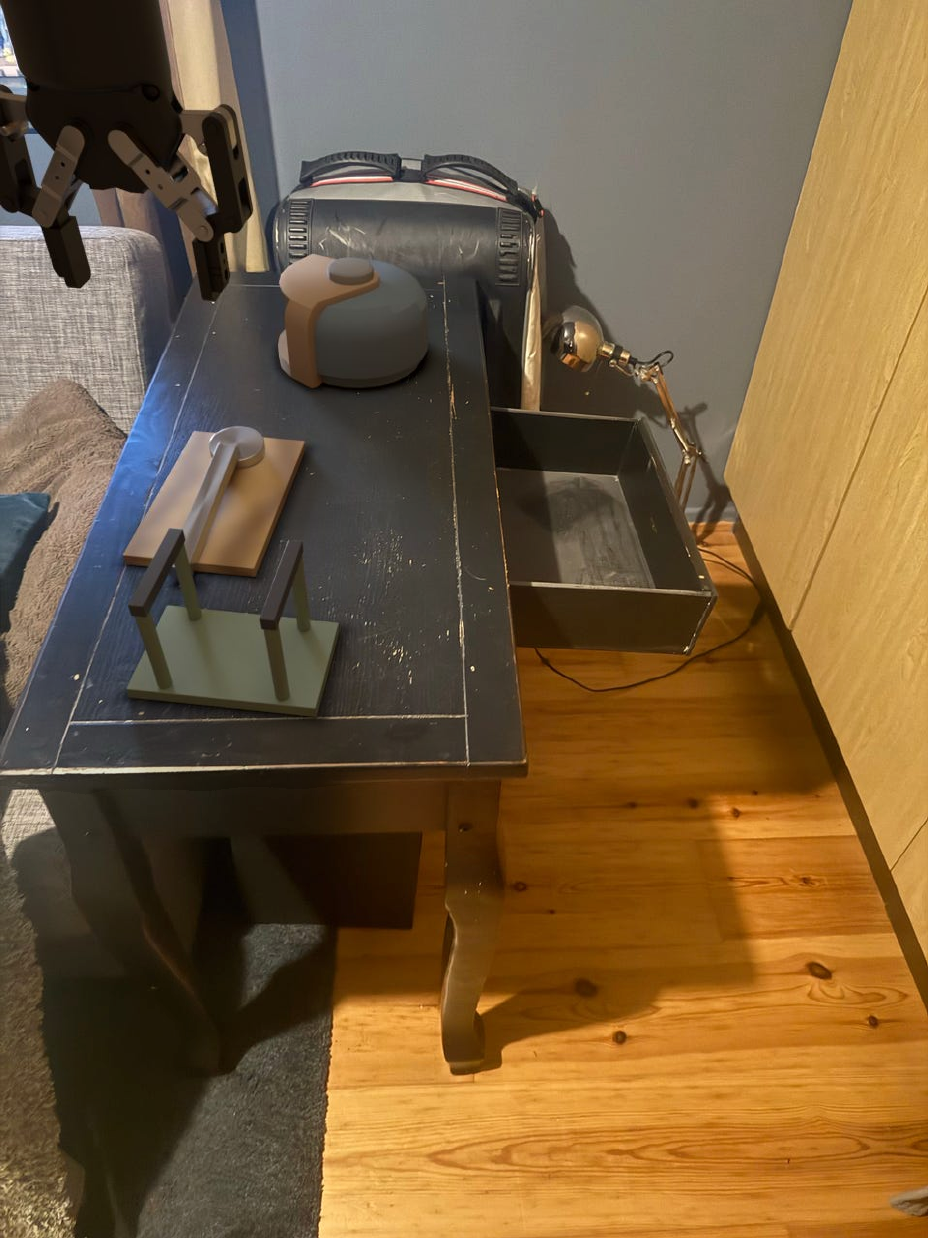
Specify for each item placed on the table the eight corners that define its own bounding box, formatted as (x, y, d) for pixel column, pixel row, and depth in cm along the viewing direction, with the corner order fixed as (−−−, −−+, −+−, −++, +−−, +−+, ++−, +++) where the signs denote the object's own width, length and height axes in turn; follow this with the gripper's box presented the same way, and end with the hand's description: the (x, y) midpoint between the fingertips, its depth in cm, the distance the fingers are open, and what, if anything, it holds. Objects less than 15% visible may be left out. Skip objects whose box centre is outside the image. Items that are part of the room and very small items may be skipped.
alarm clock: (278, 324, 116) (268, 236, 108) (418, 320, 119) (419, 234, 111) (280, 395, 103) (268, 302, 95) (437, 388, 106) (440, 297, 98)
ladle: (215, 591, 79) (208, 570, 77) (153, 586, 79) (145, 564, 77) (270, 436, 94) (266, 414, 91) (218, 432, 94) (213, 410, 91)
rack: (129, 697, 69) (93, 605, 61) (169, 614, 76) (142, 521, 68) (316, 717, 69) (305, 627, 61) (339, 631, 76) (332, 540, 68)
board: (124, 564, 80) (121, 555, 80) (196, 439, 96) (194, 430, 95) (255, 577, 80) (254, 568, 79) (305, 449, 95) (305, 441, 95)
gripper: (-116, -38, 37) (7, 306, 49) (191, -13, 37) (242, 327, 49) (-32, -60, 43) (61, 256, 54) (238, -38, 42) (273, 275, 54)
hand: (147, 289), depth 52 cm, fingers open, 8 cm apart
